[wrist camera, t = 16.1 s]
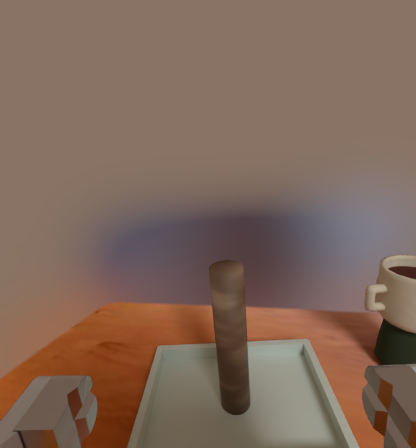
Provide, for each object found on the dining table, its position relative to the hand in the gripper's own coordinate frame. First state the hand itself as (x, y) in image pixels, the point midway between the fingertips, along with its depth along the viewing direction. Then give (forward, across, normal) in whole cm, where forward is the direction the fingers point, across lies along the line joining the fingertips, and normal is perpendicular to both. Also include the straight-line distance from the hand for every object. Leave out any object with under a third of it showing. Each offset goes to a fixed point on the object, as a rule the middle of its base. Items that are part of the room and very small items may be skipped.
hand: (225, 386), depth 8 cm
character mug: (+21, -22, +21) cm, 36 cm away
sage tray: (+16, -1, +21) cm, 26 cm away
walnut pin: (+16, -1, +20) cm, 25 cm away
